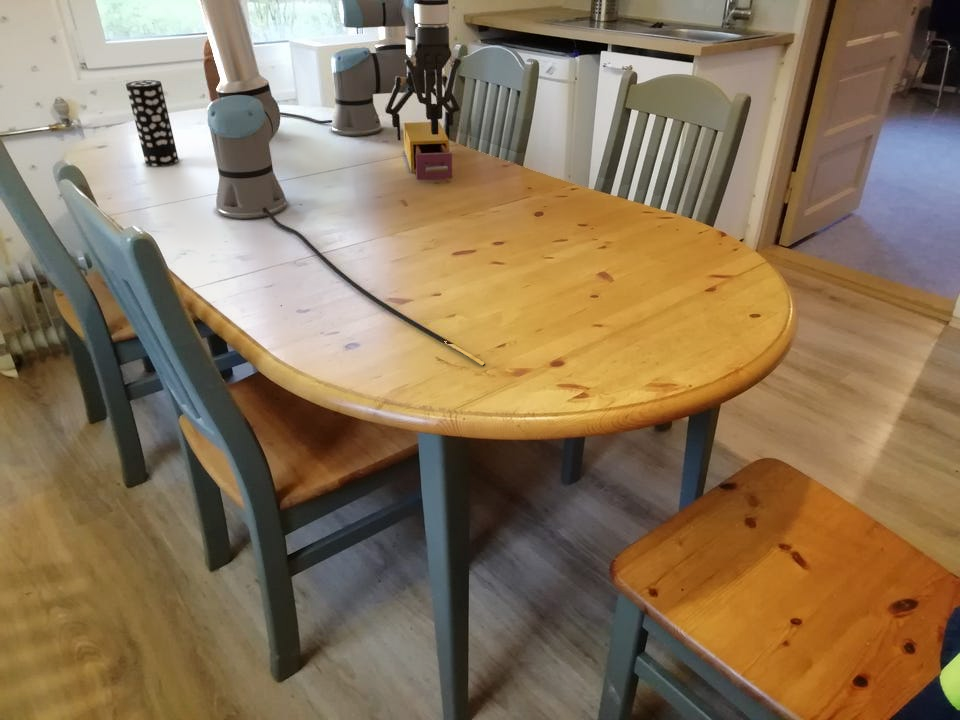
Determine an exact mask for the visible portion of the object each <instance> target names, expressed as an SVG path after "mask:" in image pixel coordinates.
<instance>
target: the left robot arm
mask: <svg viewBox="0 0 960 720" xmlns="http://www.w3.org/2000/svg"><path fill="white" fill-rule="evenodd" d="M197 1H198V4H199V7H200V11H201V15H202V18H203V22H204V25H205V29H206V32H207V36H208V37H209V40H210V43H211V47H212V50H213V54H214V57H215V61H216V64H217V68H218V71H219V75H220V78H221V82H220V84H219V86H218V87H217V93H218V96H219V99H217V100H215V101H213V102H212V103H211V102H210V103H209V105H208V106H207V110H206V111H207V112H206V113H207V124H208V127H209V128H208V129H209V131H210V136H211V142H212V147H213V151H214V156H215V161H216V167H217V169H218V170H217V172H218V185H217V189H216V190H217V193H216V201H215V203H216V204H215V206H216V210H217V213H218V214H219V215H221V216H223V217H225V218H229V219H236V220H253V219H260V218H261V219H262V218H265V217H266V218H267V217H268V218H270V220H271V221H272V222H273V223H274V224H275V226H277V227H279V228H280V229H283V230H285V231H287V232H289V233H292V234H294V235H295V236H297V237H298V238H299V239H300V240H301V241H302V242H303V243H304V244H305V245H306V246H307V247H308V248H309V249H310V250H311V251H312V252H313V253H314V254H315V255H316V256H317V257H318V258H320V260H322V262H324V263H325V264H326V265H327V266H328V267H329V268H330V269H331V270H332V271H333V272H335V273H336V274H337V275H338V276H340V277H341V279H343V280H344V281H346V282H347V284H349V285H350V286H352V287H353V288H355V290H357V291H359V292H360V293H361V294H363V295H364V296H366V297H367V298H368V299H370V300H371V301H373V302H374V303H376V304H377V305H378V306H380V307H381V308H383V309H385V310H386V311H388V312H390V313H391V314H393V315H394V316H396V317H397V318H399V319H401V320H402V321H405V322H406V323H407V324H409V325H411V326H412V327H414V328H416V329H418V330H420V331H421V332H423V333H425V334H427V335H428V336H430V337H431V338H433V339H435V340H437V341H438V342H440V343H442V344H444V343H445V342H444V341H447V342H446V343H447V344H454V343H453V342H452V341H450V340H448V339H446V338H445V337H442V336H441V335H439V334H438V333H436V332H434V331H432V330H430V329H429V328H427V327H425V326H423V325H421V324H420V323H419V322H416V321H415V320H413V319H411V318H410V317H408V316H407V315H405V314H403V313H401V312H400V311H398V310H396V309H395V308H393V307H391V306H390V305H388V304H387V303H385V302H384V301H382V300H380V299H379V298H378V297H376V296H375V295H373V294H371V293H370V292H368V291H367V290H366V289H365V288H363V287H362V286H360V285H359V284H357V283H356V282H355V281H353V280H352V279H351V278H350V277H349V276H348V275H346V274H345V273H344V272H343V271H341V270H340V269H339V268H338V267H336V266H335V265H334V264H333V263H332V262H331V261H330V260H329V259H328V258H327V257H325V256H324V255H323V254H322V253H321V252H320V251H319V250H318V249H317V248H316V247H315V246H314V245H313V244H311V242H309V240H308V239H307V237H305V236H304V235H303V234H301V233H300V232H299V231H297V230H296V229H293V228H291V227H288V226H286V225H284V224H282V223H281V222H279V220H277V219H276V217H274V215H276V214H278V213H280V212H282V211H283V210H285V209H286V207H287V199H286V194H285V193H284V191H283V189H282V187H281V184H280V182H279V180H278V179H277V177H276V175H275V172H274V167H273V160H272V154H271V148H270V142H271V141H272V139H273V138H274V137H275V136H276V134H277V132H278V131H279V129H280V124H281V115H280V112H281V111H280V106H279V104H278V102H277V101H276V99H275V98H274V96H273V94H272V91H271V87H270V83H269V80H268V79H266V78H265V77H264V76H263V75H261V74H260V70H259V67H258V63H257V59H256V55H255V50H254V47H253V43H252V39H251V35H250V31H249V27H248V24H247V19H246V16H245V11H244V8H243V7H244V6H243V4H242V0H197ZM374 1H377V2H380V3H386V2H389V1H391V0H374ZM414 3H415V23H417V24H418V26H416V28H415V34H416V48H415V50H414V55H412V56H411V57H410V58H406V59H405V63H406V65H407V66H408V68H409V69H410V72H411V76H412V80H413V83H414V87H415V91H416V98H417V101H418V103H420V104H422V105H425V117H426V119H427V120H428V121H429V120H430V122H431V133H432V135H436V134H438V122H439V120H442V119H443V117H444V116H443V114H444V113H443V107H444V106H443V104H444V103H450V102H451V100H450V98H451V94H453V89H454V85H455V84H454V83H455V79H456V76H457V70H458V69H459V67H460V65H461V63H462V60H461V59H460V58H459V57H458V56H455V55H454V54H453V53H452V50H451V48H450V27H449V26H448V24H449V23H450V11H449V9H450V8H449V7H450V5H449V4H450V3H449V0H414ZM416 59H417V60H418V61H419V63H420V64H421V66H422V67H423V68H424V73H425V94H423V93H422V91H421V87H420V84H419V80H418V76H417V72H416V69H415V66H416ZM448 61H449V65H450V66H449V69H448V75H447V84H446V88H444V93H443V85H442V75H443V69H444V68H445V66H446V65H447V64H448ZM433 69H434V70H435V73H436V84H435V89H436V97H435V102H436V103H432V102H433V101H432V92H431V70H433Z"/></svg>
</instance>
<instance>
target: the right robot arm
mask: <svg viewBox="0 0 960 720" xmlns="http://www.w3.org/2000/svg"><path fill="white" fill-rule="evenodd" d="M338 9H339V10H338V11H339V15H340V21H341V24H342V26H343V27H345V28H348V29H349V28H351V29H353V28H354V29H355V28H356V29H366V28H377V30H378V39H379V40H378V42H376V44H375V46H374V48H375V52H372V51H371V49H370V48H369V47H365V46H364V47H363V46H362V47H351V48H346V49H342V50H339V51H337V52H335V53H333V55H332V56H331V74H332V83H333V91H334V92H333V93H334V110H333V114H332V115H333V116H332V119H326V120H325V119H324V120H320V119H319V120H318V119H315V118H312V117H310V116H305V115H301V114H295V113H288V112H282V111H280V116H286V117H292V118H298V119H303V120H307V121H309V122H313V123H317V124H330V123H331V132H332V133H334V134H336V135H339V136H347V137H362V136H363V137H364V136H369V135H374V134H377V133H379V132H380V131H382V124H381V120H380V117H379V116H380V115H379V114H378V112H377V109H376V106H375V104H374V95H384V94H389V98H388V100H387V102H386V104H385V107H384V111H385V113H386V114H388V115H391V122H392V123H391V124H392V128H393V129H394V128H395V129H396V139H397V141H401V140H402V138H401V118H400V114H399V112H400V111H401V110H402V108H403V107H404V105H405V104H407V102H408V100H409V99H410V97H412V96H413V94H416V91H415V87H414V83H413V80H412V76H411V72H410V69H409V68H408V66H407V65H406V63H405V59H406V58H410V57H411V56H412V55H414V50H415V48H416V34H415V28H416V26H418V24H417V23H415V3H414V0H391V1H389V2H386V3H380V2H377V1H374V0H338ZM415 69H416V72H417V76H418V80H419V84H420V87H421V91H422V95H425V73H424V68H423V67H422V66H421V64H420V63H419V61H418V60H417V59H416V66H415ZM447 79H448V75H446V74H444V73H442V87H443V88H444V89H445V88H446V84H447ZM399 94H403V95H402V96H401V97H400V99H399V100H398V101H397V102H396V104H395V105H394V103H395V101H396V99H397V96H398V95H399ZM431 94H432V95H433V96H434V97H435V98H436V73H435V70H434V69H433V70H431ZM416 95H417V94H416ZM450 102H451V105H452V106H450V104H449V102H447V103H444V104H443V106H442V107H444V109H445V110H446V111H445V112H444V129H445V130H444V132H445V134H446V135H447V137H448V139H449V140H450V127H451V126H453V125H454V114H455V113H457V112H460V110H461V108H460V106H459V104H458V102H457V100H456V98H455V96H454V93H452V94H451V98H450ZM393 105H394V107H393Z"/></svg>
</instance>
